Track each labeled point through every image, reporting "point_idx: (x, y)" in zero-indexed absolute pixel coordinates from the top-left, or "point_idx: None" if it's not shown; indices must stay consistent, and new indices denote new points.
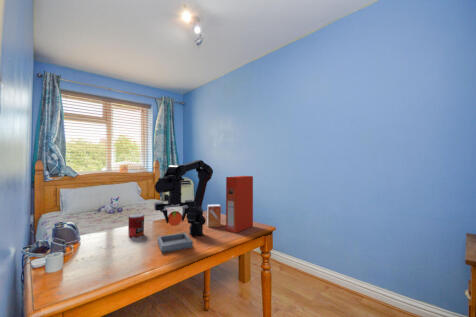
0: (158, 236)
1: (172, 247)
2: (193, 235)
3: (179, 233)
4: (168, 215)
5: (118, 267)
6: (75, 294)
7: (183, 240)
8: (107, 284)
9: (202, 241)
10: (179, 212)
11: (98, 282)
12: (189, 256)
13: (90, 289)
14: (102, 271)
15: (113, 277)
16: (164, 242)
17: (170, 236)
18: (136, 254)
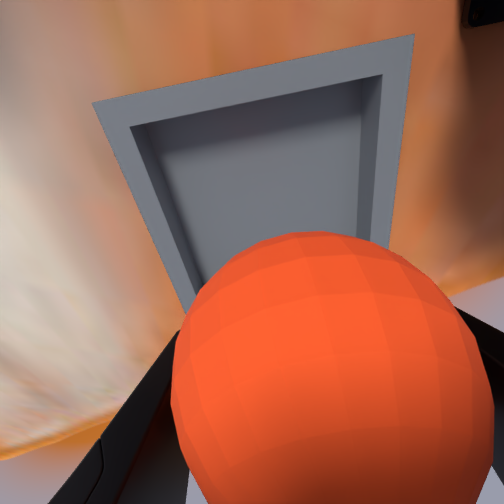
0: (102, 103)
1: None
2: (486, 6)
3: (338, 54)
4: (185, 458)
5: (46, 365)
6: (25, 439)
7: (342, 156)
8: (79, 423)
9: (472, 177)
10: (477, 492)
11: (44, 416)
12: None
13: (47, 432)
14: (2, 377)
15: (73, 405)
16: (186, 161)
17: (233, 102)
18: (53, 278)
